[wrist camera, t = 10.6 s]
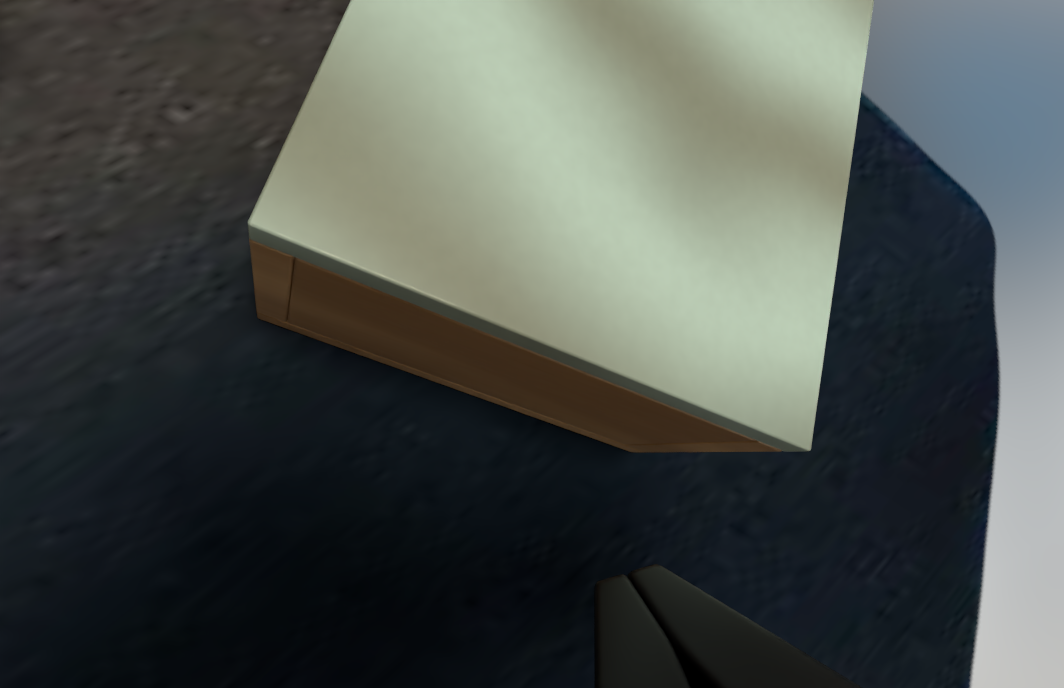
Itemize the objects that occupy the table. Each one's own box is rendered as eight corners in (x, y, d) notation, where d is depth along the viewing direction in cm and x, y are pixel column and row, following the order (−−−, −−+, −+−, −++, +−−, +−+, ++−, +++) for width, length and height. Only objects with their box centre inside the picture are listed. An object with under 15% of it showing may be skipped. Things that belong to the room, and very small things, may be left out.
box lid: (507, -326, 15) (519, -364, 15) (861, -49, 19) (884, -69, 19) (248, 239, 11) (246, 223, 10) (784, 452, 15) (811, 452, 14)
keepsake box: (432, -87, 21) (498, -306, 15) (715, 88, 25) (858, -30, 19) (256, 318, 17) (247, 240, 11) (632, 452, 21) (783, 452, 15)
